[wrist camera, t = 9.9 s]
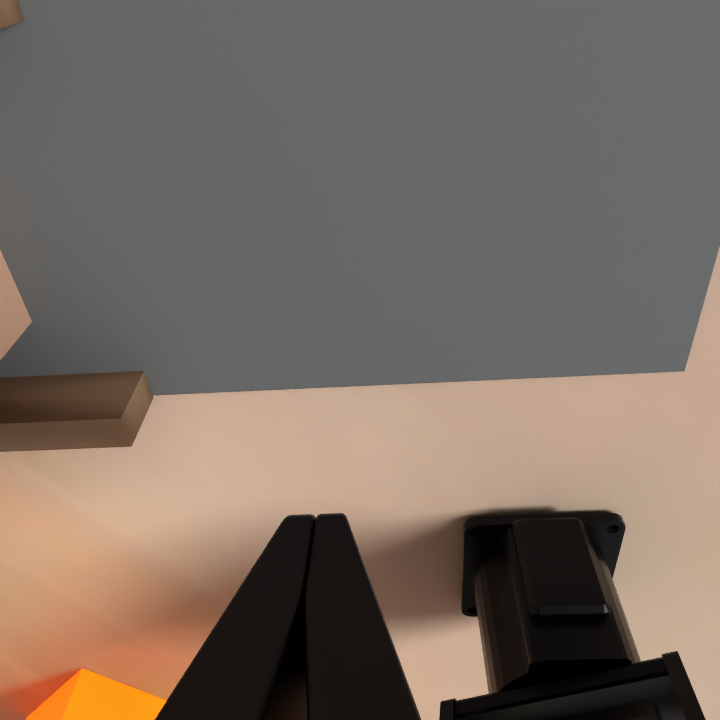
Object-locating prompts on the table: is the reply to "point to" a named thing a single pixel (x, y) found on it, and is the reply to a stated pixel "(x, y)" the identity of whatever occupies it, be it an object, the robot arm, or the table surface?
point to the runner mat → (358, 188)
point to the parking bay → (69, 392)
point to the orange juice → (97, 701)
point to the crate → (10, 310)
